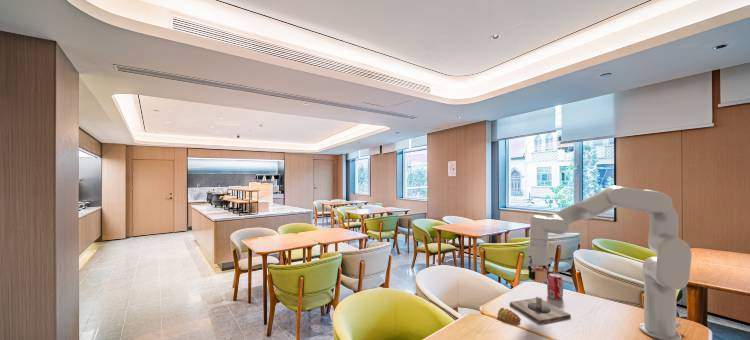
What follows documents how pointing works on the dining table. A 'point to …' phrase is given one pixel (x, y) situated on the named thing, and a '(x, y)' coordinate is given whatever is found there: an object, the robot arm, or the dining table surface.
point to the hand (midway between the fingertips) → (538, 277)
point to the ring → (540, 274)
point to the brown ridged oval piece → (508, 315)
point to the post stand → (540, 310)
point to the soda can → (555, 286)
